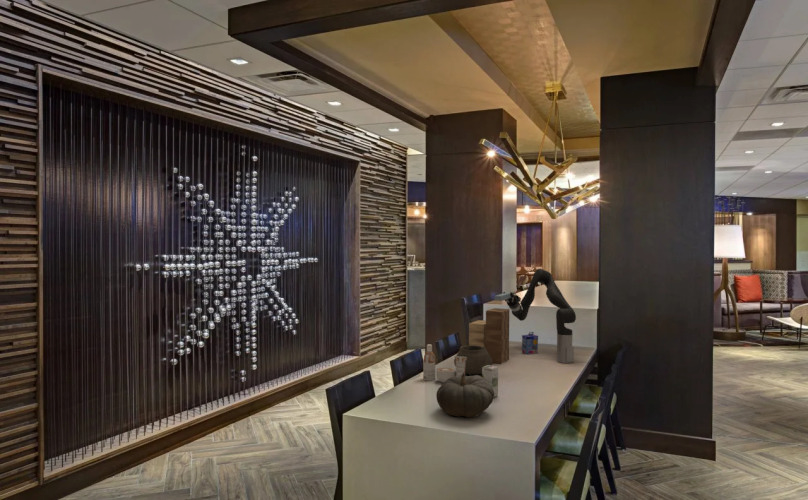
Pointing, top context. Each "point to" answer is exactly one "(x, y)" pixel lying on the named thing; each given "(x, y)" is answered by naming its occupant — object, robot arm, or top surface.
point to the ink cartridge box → (530, 343)
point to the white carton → (491, 377)
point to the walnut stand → (497, 334)
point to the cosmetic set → (441, 372)
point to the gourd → (465, 395)
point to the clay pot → (474, 358)
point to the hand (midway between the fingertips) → (507, 293)
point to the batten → (502, 296)
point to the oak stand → (477, 333)
